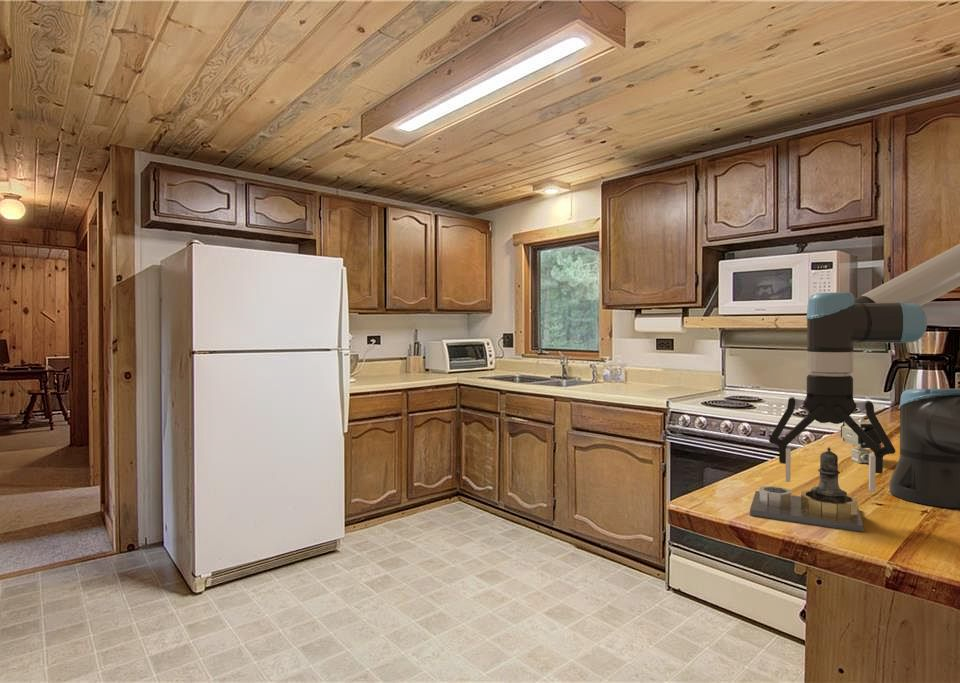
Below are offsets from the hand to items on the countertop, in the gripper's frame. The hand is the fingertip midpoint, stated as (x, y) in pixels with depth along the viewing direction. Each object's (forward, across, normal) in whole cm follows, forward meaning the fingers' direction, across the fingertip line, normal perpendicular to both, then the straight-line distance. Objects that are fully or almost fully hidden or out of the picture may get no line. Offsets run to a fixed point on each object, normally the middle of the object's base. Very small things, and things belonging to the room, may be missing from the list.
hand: (828, 485), depth 107 cm
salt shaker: (+5, 0, 0) cm, 5 cm away
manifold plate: (+6, +4, 0) cm, 7 cm away
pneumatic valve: (+6, -8, -54) cm, 55 cm away
